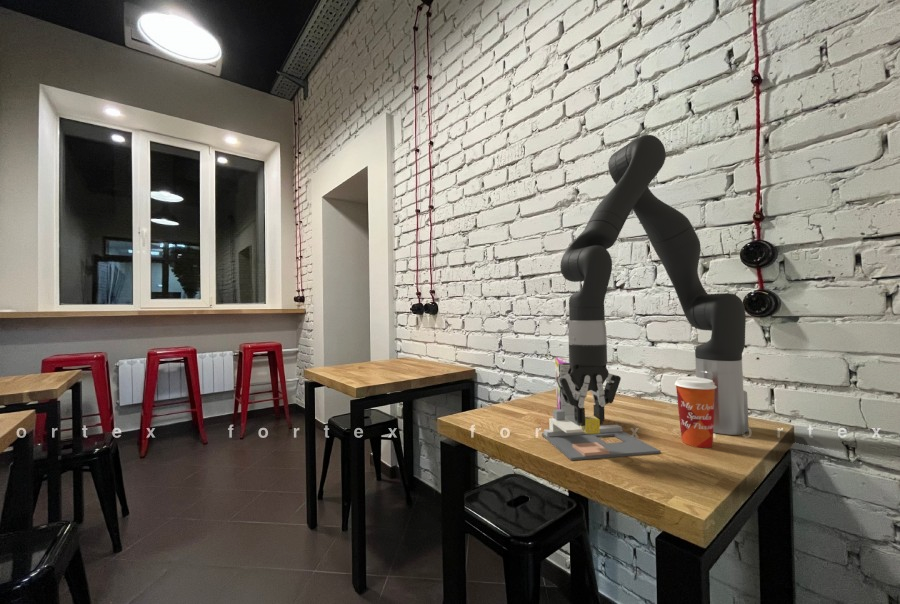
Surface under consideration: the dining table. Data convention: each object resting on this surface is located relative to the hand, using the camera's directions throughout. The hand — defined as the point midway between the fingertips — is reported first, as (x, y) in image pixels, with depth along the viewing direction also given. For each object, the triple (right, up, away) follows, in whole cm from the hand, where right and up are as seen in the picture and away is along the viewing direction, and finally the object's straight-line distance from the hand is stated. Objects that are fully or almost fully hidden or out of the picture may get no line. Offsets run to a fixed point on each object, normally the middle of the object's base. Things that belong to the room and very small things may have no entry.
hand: (589, 423), depth 74 cm
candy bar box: (+3, -7, +22) cm, 23 cm away
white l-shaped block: (-3, -5, +6) cm, 8 cm away
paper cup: (+25, -6, +4) cm, 26 cm away
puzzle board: (+3, -6, +5) cm, 8 cm away
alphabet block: (0, -2, 0) cm, 2 cm away
